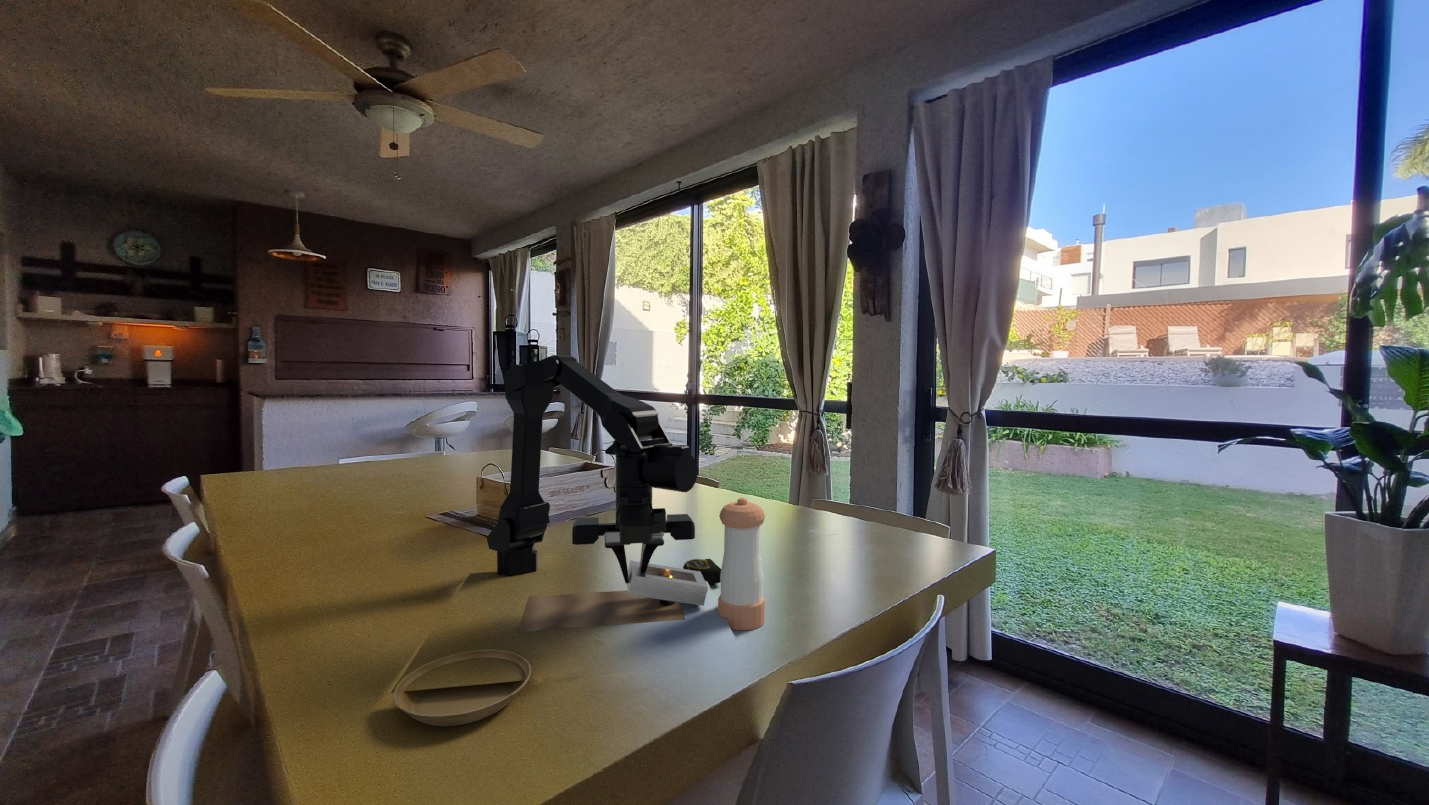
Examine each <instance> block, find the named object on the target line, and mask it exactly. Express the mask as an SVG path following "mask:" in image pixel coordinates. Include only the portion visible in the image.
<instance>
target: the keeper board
mask: <svg viewBox="0 0 1429 805" xmlns="http://www.w3.org/2000/svg"><path fill="white" fill-rule="evenodd" d="M680 620H681V621H683V620H686V617H685V614H684V611H683V609H682V605H681V602H675V604H674V605H671V606H663V605H661V604H660V599H655V598H648V597H641V596H634V595H628V591H627V589H626V590H611V591H598V592H597V591H596V592H581V593H567V594H566V593H565V594H553V595H536V596H529V597H528V600H527V602H526V606H525V609H524V612H523V616H522V619H521V622H520V624H519V627H518V631H517V632H518V633H525V632H536V631H549V630H550V631H551V630H562V629H575V628H576V629H577V628H588V627H589V628H591V627H599V626H600V627H602V626H617V625H630V624H642V623H643V624H644V623H657V622H669V621H680Z"/></svg>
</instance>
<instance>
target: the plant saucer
mask: <svg viewBox="0 0 1429 805" xmlns="http://www.w3.org/2000/svg"><path fill="white" fill-rule="evenodd" d="M479 658H482V659H483V658H492V659H495V658H496V659H502V660H506V661H507V660H508V661H511V662H513V663H514V664H517V665H518V666H520V668H521V669H522V670H523V672H524V680H512V681H504V682H501V681H500V682H493V683H481V684H470V685H459V686H448V687H437V688H427V689H415V690H406V688H408V686H409V685H410V684H411V683H413V682H414V681H415V680H416V679H419V677H421V676H422V675H424V674H426V673H429V672H430V671H432V670H434V669H437V668H440V667H443V666H444V665H448V664H452V663H455V662H460V661H465V660H471V659H479ZM531 674H532V667H531V664H530V662H529V661H528V660H527V659H526V658H525V657H524V656H523V655H520V654H519V653H516V652H512V651H509V650H502V649H476V650H474V649H473V650H468V651H463V652H458V653H454V654H453V653H452V654H449V655H446V656H442V657H440V658H437V659H434V660H432V661H429V662H427V663H425V664H423V665H421V666H419V667H417V668H416V669H414V670H412V671H411V672H409V673H408V674H407V675H406V676H405V677H403V678H402V679H401V680H400V681H399V683H398V684H397V686H396V687H395V688H394V691H393V702H394V703H395V705H396V706H397V707H398V708H399V709H400V710H401V711H402V712H404V714H406V715H407V716H409V717H411V719H414V720H416V721H418V722H421V723H422V724H425V725H429V726H433V727H434V726H435V727H455V726H456V725H457V726H463V725H467V724H471V723H475V722H478V721H481V720H484V719H486V718H488V717H490V716H492V715H494V714H496V713H498V712H499V711H501V710H502V709H503V708H505V707H506V706H507V705H508V704H510V702H512V701H513V699H514V698H515V697H517V695H518V694H519V693H520V692H521V691H522V689H523V688H524V687H525V685H526V684H527V682H528V681H529V679H530V677H531Z"/></svg>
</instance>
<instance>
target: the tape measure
mask: <svg viewBox="0 0 1429 805" xmlns="http://www.w3.org/2000/svg"><path fill="white" fill-rule="evenodd" d="M721 568H722V567H720V566H719V565H717V564H716V563H715V561H714V560H712V559H711V558H705V559H702V558H701V559H700V558H694V559H689V560H687V561H686V562H685V563H684V565H683V566H682V569H687V570H693V571H700V572H701V574H702V576H703V578H704V580H705V582H706V583H707V585H708V586H711V585H716V584H720V574H721Z"/></svg>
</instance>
